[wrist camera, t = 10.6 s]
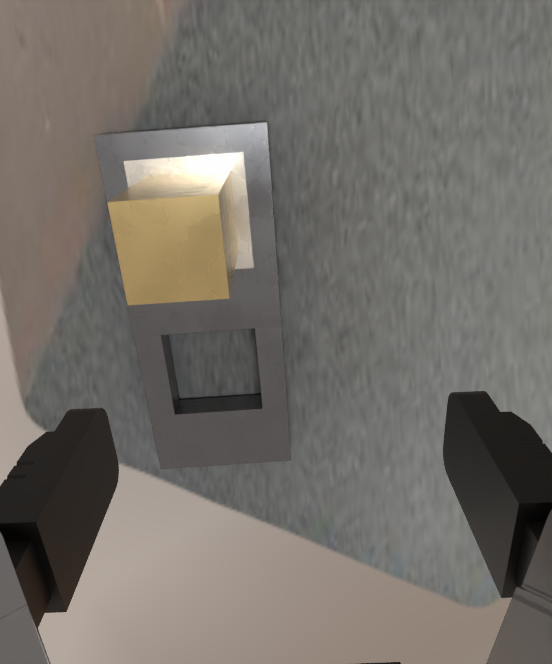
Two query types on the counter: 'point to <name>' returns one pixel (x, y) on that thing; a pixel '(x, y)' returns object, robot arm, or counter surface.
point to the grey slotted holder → (211, 315)
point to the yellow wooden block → (176, 238)
